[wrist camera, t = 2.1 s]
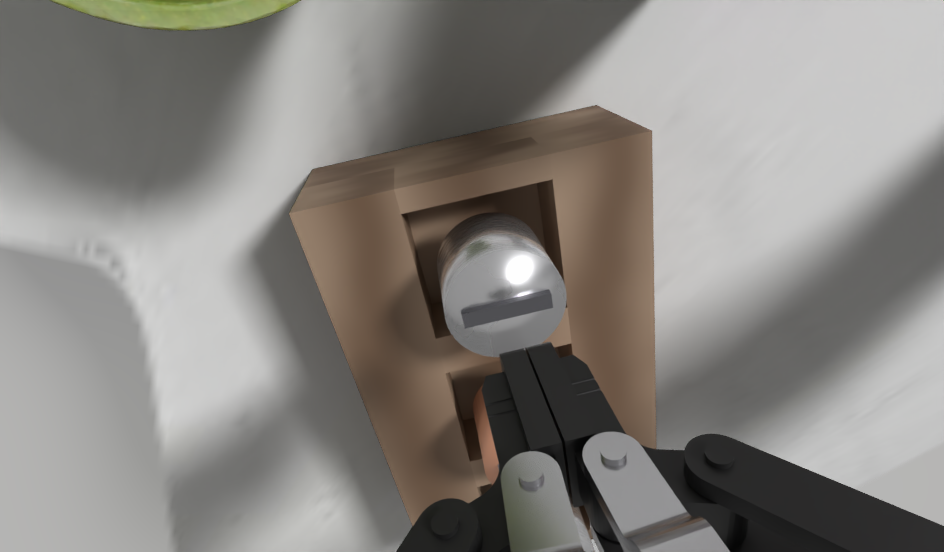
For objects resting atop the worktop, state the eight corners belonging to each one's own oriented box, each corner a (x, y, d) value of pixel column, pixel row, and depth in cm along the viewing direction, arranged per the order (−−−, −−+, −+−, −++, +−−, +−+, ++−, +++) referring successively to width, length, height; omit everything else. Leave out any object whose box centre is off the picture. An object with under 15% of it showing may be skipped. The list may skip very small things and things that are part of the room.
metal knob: (533, 201, 20) (562, 240, 16) (546, 294, 22) (574, 346, 19) (425, 226, 20) (431, 271, 16) (449, 317, 22) (458, 374, 18)
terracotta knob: (555, 358, 24) (582, 416, 20) (564, 424, 26) (590, 487, 22) (465, 379, 24) (476, 442, 20) (481, 444, 26) (494, 510, 22)
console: (596, 105, 24) (651, 130, 19) (618, 447, 36) (657, 522, 30) (312, 169, 24) (288, 213, 19) (427, 494, 35) (433, 578, 30)
